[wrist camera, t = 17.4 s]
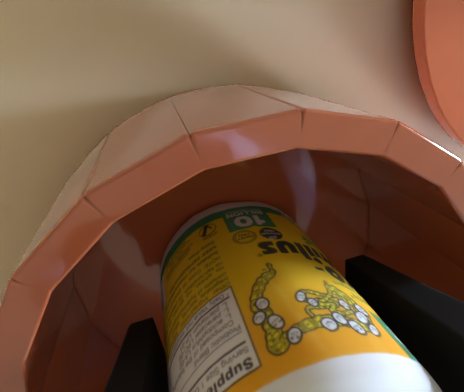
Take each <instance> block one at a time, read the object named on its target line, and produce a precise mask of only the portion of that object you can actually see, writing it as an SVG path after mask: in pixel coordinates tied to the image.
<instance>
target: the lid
mask: <svg viewBox="0 0 464 392" xmlns="http://www.w3.org/2000/svg"><path fill="white" fill-rule="evenodd" d="M412 28H413V41H414V53H415V60H416V65H417V70H418V75H419V80H420V83H421V86H422V89H423V92H424V95H425V97H426V100H427V103H428V105H429V107H430V109H431V111H432V112H433V114H434V116H435V118H436V120H437V121H438V123H439V124H440V125H441V126H442V128H443V129H444V130H445V132H446V133H447V134H448V135H449V136H450V137H451V138H452V139H453V140H454V141H456V142H457V143H458V144H459V145H460V146H461V147H463V148H464V0H413V23H412Z"/></svg>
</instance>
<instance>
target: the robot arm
mask: <svg viewBox="0 0 464 392" xmlns="http://www.w3.org/2000/svg"><path fill="white" fill-rule="evenodd" d="M345 279H346V281H347V282H348V283H349V284H350V285H351V286H352V287H353V288H354V289H355V291H356V292H357V293H358V294H359V295H360V296H361V297H362V298H363V299H364V300H365V301H366V302H367V304H368V305H369V306H370V307H371V308H372V309H373V310H374V311H375V312H376V314H377V315H378V316H379V317H380V318H381V320H382V321H383V322H384V323H385V324H386V325H387V326H388V327H389V328H390V330H391V331H392V332H393V333H394V334H395V336H396V337H397V338H398V339H399V340H400V341H401V342H402V343H403V344H404V345H405V347H406V348H407V349H408V350H409V351H410V353H411V354H412V355H413V356H414V357H415V358H416V359H417V361H418V362H419V363H420V364H421V365H422V366H423V367H424V368H425V369H426V370H427V372H428V373H429V374H430V376H431V377H432V378H433V379H434V381H435V382H436V383H437V384H438V386H439V387H440V389H441V390H442V392H464V302H462V301H460V300H458V299H455V298H453V297H451V296H449V295H447V294H444V293H442V292H440V291H438V290H436V289H433V288H431V287H429V286H427V285H425V284H423V283H421V282H419V281H417V280H415V279H413V278H410V277H408V276H406V275H404V274H402V273H400V272H398V271H396V270H394V269H392V268H390V267H388V266H386V265H384V264H382V263H380V262H378V261H376V260H374V259H372V258H370V257H367V256H365V255H360V256H356V257H353V258H350V259H346V260H345ZM104 392H169V388H168V374H167V362H166V353H165V350H164V347H163V344H162V342H161V339H160V336H159V333H158V330H157V328H156V325H155V322H154V319H153V317H151V318H148V319H145V320H141V321H138V322H135V323H131V324H130V326H129V327H128V329H127V332H126V335H125V338H124V341H123V344H122V347H121V350H120V352H119V355H118V358H117V360H116V363H115V365H114V368H113V370H112V373H111V375H110V378H109V380H108V382H107V385H106V387H105V390H104Z"/></svg>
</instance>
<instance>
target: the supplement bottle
mask: <svg viewBox="0 0 464 392" xmlns="http://www.w3.org/2000/svg"><path fill="white" fill-rule="evenodd" d="M160 284H161V301H162V313H163V325H164V339H165V349H166V362H167V374H168V388H169V392H442V390H441V389H440V387H439V386H438V384H437V383H436V382H435V381H434V379H433V378H432V377H431V376H430V374H429V373H428V372H427V370H426V369H425V368H424V367H423V366H422V365H421V364H420V363H419V362H418V361H417V359H416V358H415V357H414V356H413V355H412V354H411V353H410V351H409V350H408V349H407V348H406V347H405V345H404V344H403V343H402V342H401V341H400V340H399V339H398V338H397V337H396V336H395V334H394V333H393V332H392V331H391V330H390V328H389V327H388V326H387V325H386V324H385V323H384V322H383V321H382V320H381V318H380V317H379V316H378V315H377V314H376V312H375V311H374V310H373V309H372V308H371V307H370V306H369V305H368V304H367V302H366V301H365V300H364V299H363V298H362V297H361V296H360V295H359V294H358V293H357V292H356V291H355V289H354V288H353V287H352V286H351V285H350V284H349V283H348V282H347V281H346V279H345V278H344V277H343V276H342V275H341V274H340V273H339V271H337V270H336V269H335V268H334V266H333V265H332V264H331V263H330V262H329V260H328V259H327V258H326V257H325V256H324V254H323V253H322V252H321V251H320V250H319V249H318V248H317V246H316V245H315V244H314V243H313V242H312V241H311V240H310V238H309V237H308V236H307V235H306V234H305V233H304V232H303V231H302V229H301V228H300V227H299V226H298V225H297V224H296V223H295V222H294V221H293V220H292V219H291V218H290V217H289V216H288V215H287V214H285V213H284V212H282V211H281V210H279V209H277V208H275V207H273V206H271V205H269V204H265V203H261V202H255V201H244V202H231V203H224V204H219V205H215V206H213V207H210V208H208V209H206V210H204V211H202V212H200V213H198V214H196V215H194V216H193V217H192V218H190V219H189V220H188V221H187V222H186V223H185V224H184V225H183V226H182V227H181V228H180V229H179V230H178V231H177V232H176V234H175V235H174V236H173V238H172V239H171V241H170V242H169V244H168V246H167V248H166V250H165V253H164V256H163V260H162V264H161V271H160Z"/></svg>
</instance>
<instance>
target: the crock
mask: <svg viewBox="0 0 464 392" xmlns="http://www.w3.org/2000/svg"><path fill="white" fill-rule="evenodd" d="M244 201H255V202H261V203H265V204H269V205H271V206H273V207H275V208H277V209H279V210H281V211H282V212H284V213H285V214H287V215H288V216H289V217H290V218H291V219H292V220H293V221H294V222H295V223H296V224H297V225H298V226H299V227H300V228H301V229H302V231H303V232H304V233H305V234H306V235H307V236H308V237H309V238H310V240H311V241H312V242H313V243H314V244H315V245H316V246H317V248H318V249H319V250H320V251H321V252H322V253H323V254H324V256H325V257H326V258H327V259H328V260H329V262H330V263H331V264H332V265H333V266H334V268H335V269H336V270H337V271H339V273H340V274H341V275H342V276H343V277H344V278H345V260H346V259H350V258H353V257H356V256H360V255H365V256H367V257H370V258H372V259H374V260H376V261H378V262H380V263H382V264H384V265H386V266H388V267H390V268H392V269H394V270H396V271H398V272H400V273H402V274H404V275H406V276H408V277H410V278H413V279H415V280H417V281H419V282H421V283H423V284H425V285H427V286H429V287H431V288H433V289H436V290H438V291H440V292H442V293H444V294H447V295H449V296H451V297H453V298H455V299H458V300H460V301H462V302H464V164H463V162H462V161H461V160H460V158H458V157H457V156H455V155H453V154H452V153H450V152H449V151H447V150H445V149H444V148H442V147H440V146H439V145H437V144H435V143H434V142H432V141H431V140H429V139H427V138H426V137H424V136H422V135H421V134H419V133H418V132H416V131H414V130H413V129H411V128H409V127H408V126H406V125H405V124H403V123H401V122H399V121H396V120H394V119H390V118H386V117H383V116H379V115H376V114H372V113H368V112H365V111H361V110H357V109H354V108H350V107H347V106H343V105H339V104H336V103H332V102H329V101H325V100H321V99H318V98H314V97H311V96H307V95H303V94H300V93H296V92H290V91H283V90H277V89H271V88H265V87H259V86H253V85H242V84H237V85H235V84H232V85H223V86H215V87H207V88H200V89H196V90H193V91H189V92H185V93H182V94H178V95H174V96H172V97H170V98H167V99H165V100H162V101H160V102H158V103H155V104H153V105H151V106H149V107H147V108H145V109H144V110H142V111H140V112H139V113H137V114H135V115H134V116H132V117H130V118H129V119H127V120H125V121H124V122H123V123H122V124H120V125H119V126H118V127H117V128H115V129H113V130H112V131H111V132H110V133H109V134H107V135H106V136H105V137H104V138H103V139H102V140H101V142H100V143H99V144H98V145H97V146H96V147H95V148H94V149H93V150H92V151H91V152H90V153H89V154H88V156H87V157H86V158H85V160H84V161H83V162H82V164H81V165H80V167H79V168H78V169H77V170H76V171H75V172H74V174H73V175H72V176H71V177H70V178H69V179H68V181H67V182H66V184H65V186H64V187H63V189H62V191H61V192H60V194H59V196H58V198H57V199H56V201H55V203H54V204H53V206H52V208H51V209H50V211H49V213H48V214H47V216H46V218H45V219H44V221H43V223H42V225H41V226H40V228H39V230H38V231H37V233H36V235H35V236H34V238H33V240H32V241H31V243H30V245H29V246H28V248H27V250H26V251H25V253H24V255H23V257H22V258H21V260H20V262H19V263H18V265H17V267H16V268H15V270H14V272H13V273H12V275H11V277H10V278H9V280H8V282H7V285H6V289H5V292H4V295H3V298H2V301H1V304H0V392H104V390H105V387H106V385H107V382H108V380H109V378H110V375H111V373H112V370H113V368H114V365H115V363H116V360H117V358H118V355H119V352H120V350H121V347H122V344H123V341H124V338H125V335H126V332H127V329H128V327H129V326H130V324H131V323H135V322H138V321H141V320H145V319H148V318H151V317H153V319H154V322H155V325H156V328H157V330H158V333H159V336H160V339H161V342H162V344H163V347H164V350H165V353H166V349H165V339H164V325H163V313H162V301H161V284H160V271H161V264H162V260H163V256H164V253H165V250H166V248H167V246H168V244H169V242H170V241H171V239H172V238H173V236H174V235H175V234H176V232H177V231H178V230H179V229H180V228H181V227H182V226H183V225H184V224H185V223H186V222H187V221H188V220H189V219H190V218H192V217H193V216H194V215H196V214H198V213H200V212H202V211H204V210H206V209H208V208H210V207H213V206H215V205H219V204H224V203H231V202H244Z"/></svg>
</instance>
